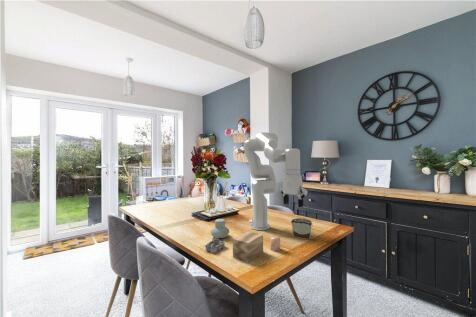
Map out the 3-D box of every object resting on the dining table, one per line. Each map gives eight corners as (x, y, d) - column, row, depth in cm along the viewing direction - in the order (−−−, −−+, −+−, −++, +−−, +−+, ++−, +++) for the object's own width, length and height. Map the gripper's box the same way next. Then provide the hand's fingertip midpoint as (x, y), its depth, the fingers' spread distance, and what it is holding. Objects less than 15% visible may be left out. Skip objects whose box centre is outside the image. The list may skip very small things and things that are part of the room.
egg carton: (216, 243, 124) (216, 236, 124) (227, 247, 120) (227, 239, 120) (202, 250, 115) (202, 242, 115) (213, 254, 111) (213, 246, 111)
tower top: (232, 248, 107) (232, 238, 107) (248, 239, 118) (248, 231, 118) (248, 253, 102) (248, 243, 102) (263, 243, 112) (263, 234, 112)
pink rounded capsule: (268, 249, 115) (268, 238, 115) (273, 246, 119) (273, 235, 119) (277, 252, 112) (277, 240, 112) (282, 248, 116) (281, 237, 116)
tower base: (232, 257, 107) (232, 248, 107) (248, 248, 118) (248, 239, 118) (248, 262, 102) (248, 253, 102) (263, 252, 112) (263, 243, 112)
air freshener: (220, 241, 127) (220, 223, 127) (209, 238, 131) (208, 221, 131) (231, 235, 136) (230, 218, 136) (220, 232, 141) (219, 216, 141)
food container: (314, 236, 132) (314, 219, 132) (312, 240, 127) (312, 222, 126) (294, 233, 138) (293, 217, 138) (290, 236, 133) (290, 219, 133)
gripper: (275, 172, 122) (276, 203, 122) (301, 173, 108) (302, 209, 108) (285, 171, 126) (285, 201, 126) (311, 172, 112) (311, 207, 112)
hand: (293, 205), depth 117 cm, fingers open, 9 cm apart
